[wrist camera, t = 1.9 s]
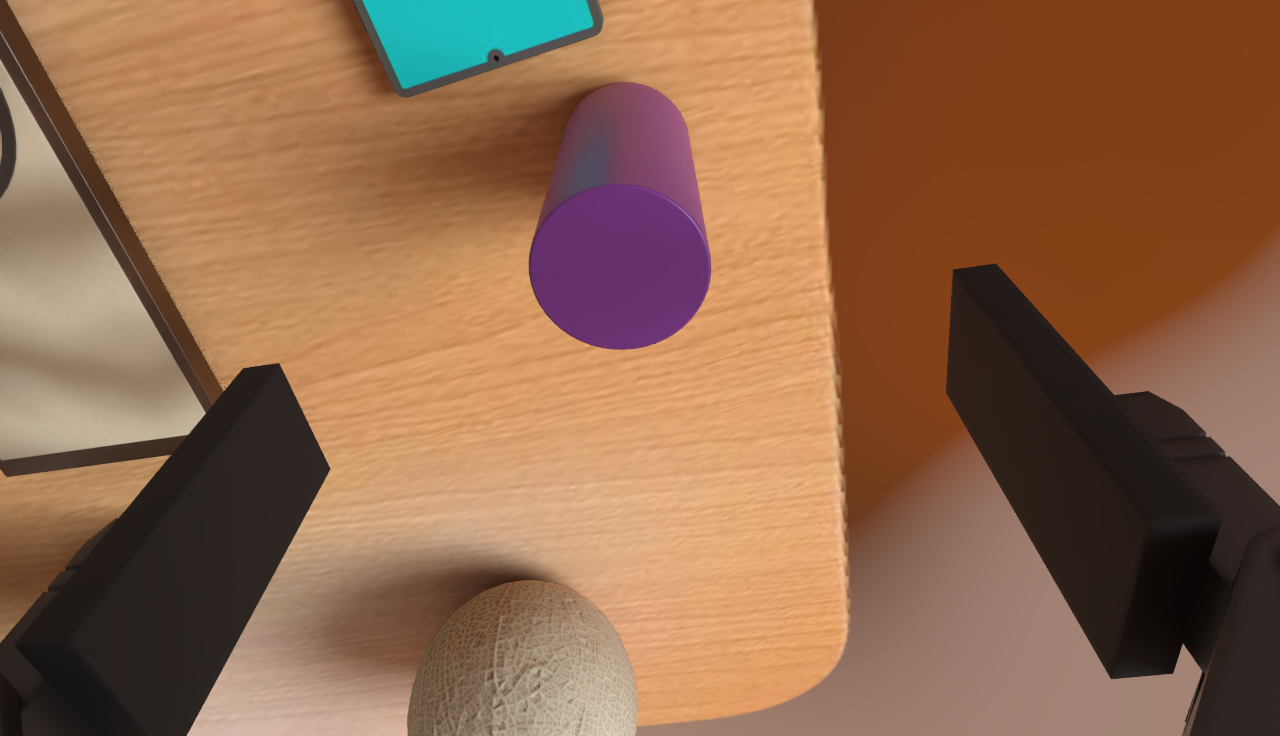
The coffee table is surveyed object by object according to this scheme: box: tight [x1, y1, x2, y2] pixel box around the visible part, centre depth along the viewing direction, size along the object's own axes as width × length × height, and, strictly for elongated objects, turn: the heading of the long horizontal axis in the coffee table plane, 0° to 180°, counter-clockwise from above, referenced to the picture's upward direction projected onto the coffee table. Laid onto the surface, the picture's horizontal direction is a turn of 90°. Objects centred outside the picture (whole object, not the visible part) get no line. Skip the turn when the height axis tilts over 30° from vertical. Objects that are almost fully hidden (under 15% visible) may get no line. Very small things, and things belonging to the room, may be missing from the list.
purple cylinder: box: [529, 82, 711, 350], centre depth 23 cm, size 4×4×11 cm
